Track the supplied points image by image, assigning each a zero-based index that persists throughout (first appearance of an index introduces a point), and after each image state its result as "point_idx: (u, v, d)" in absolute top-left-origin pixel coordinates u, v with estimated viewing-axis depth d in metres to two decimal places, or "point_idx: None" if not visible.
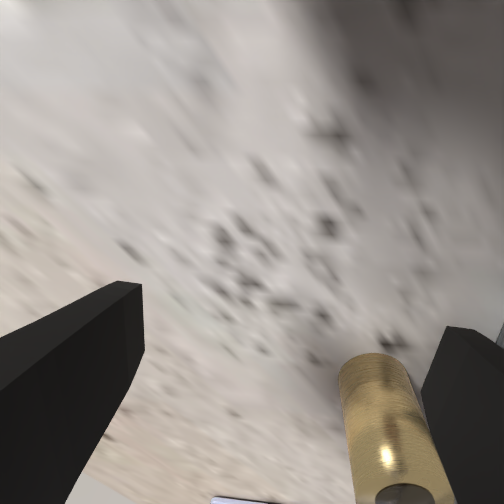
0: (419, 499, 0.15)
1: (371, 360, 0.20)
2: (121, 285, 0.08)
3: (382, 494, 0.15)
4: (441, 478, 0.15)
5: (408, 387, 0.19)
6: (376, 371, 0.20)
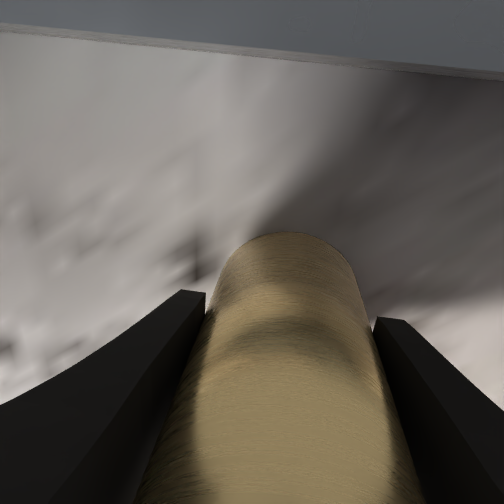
0: None
1: None
2: (187, 294, 0.08)
3: None
4: None
5: (223, 287, 0.08)
6: None
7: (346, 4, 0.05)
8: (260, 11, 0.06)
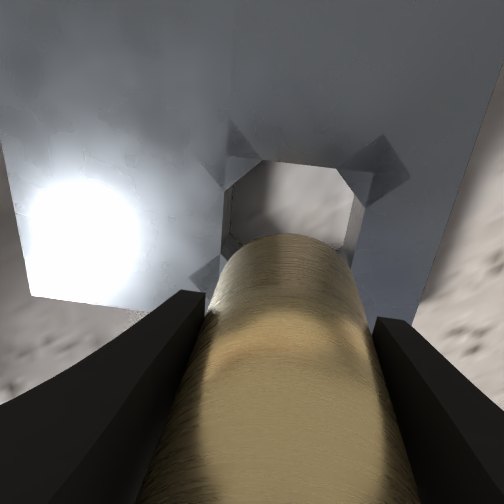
0: None
1: None
2: (187, 294, 0.08)
3: None
4: None
5: (224, 288, 0.08)
6: None
7: None
8: None
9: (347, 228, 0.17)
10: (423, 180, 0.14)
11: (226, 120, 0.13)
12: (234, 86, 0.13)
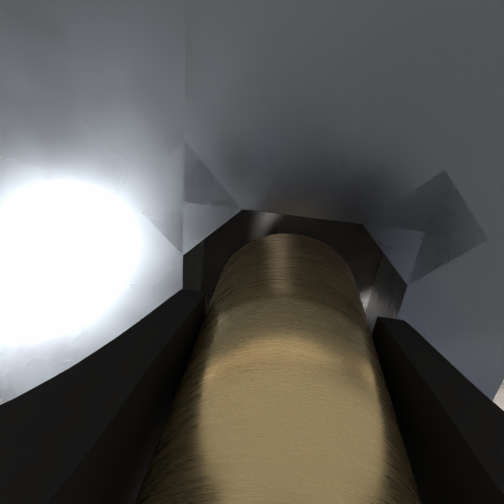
0: None
1: None
2: (187, 294, 0.08)
3: None
4: None
5: (224, 288, 0.08)
6: None
7: None
8: None
9: (371, 294, 0.12)
10: None
11: (180, 146, 0.08)
12: (191, 89, 0.08)
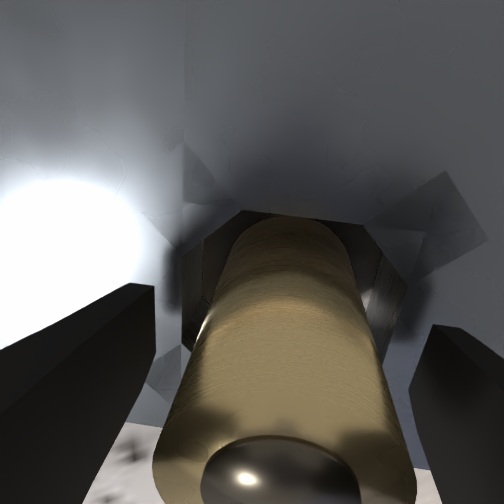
0: (251, 473, 0.05)
1: None
2: (134, 287, 0.08)
3: None
4: (181, 412, 0.05)
5: (235, 258, 0.10)
6: None
7: None
8: (137, 413, 0.12)
9: (371, 295, 0.12)
10: None
11: (180, 146, 0.08)
12: (190, 89, 0.07)
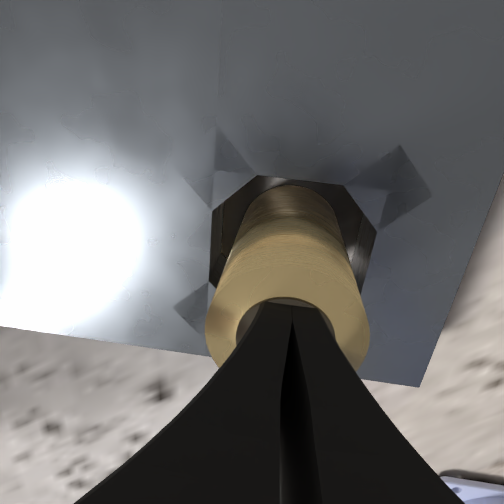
0: None
1: None
2: (275, 306, 0.08)
3: None
4: (225, 285, 0.09)
5: (250, 214, 0.13)
6: None
7: (201, 343, 0.15)
8: (172, 342, 0.15)
9: None
10: (447, 199, 0.11)
11: (213, 128, 0.11)
12: (222, 88, 0.11)
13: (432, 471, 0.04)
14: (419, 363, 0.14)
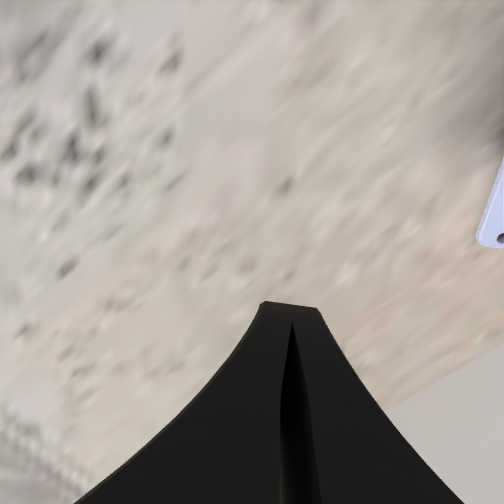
0: None
1: None
2: (275, 306, 0.08)
3: None
4: None
5: None
6: None
7: None
8: None
9: None
10: None
11: None
12: None
13: (431, 470, 0.04)
14: None
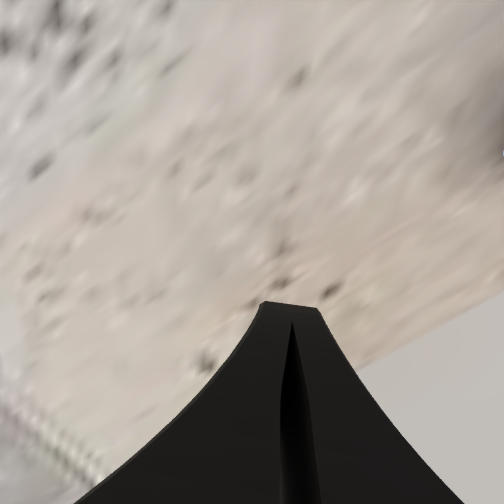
0: None
1: None
2: (275, 306, 0.08)
3: None
4: None
5: None
6: None
7: None
8: None
9: None
10: None
11: None
12: None
13: (431, 471, 0.04)
14: None
